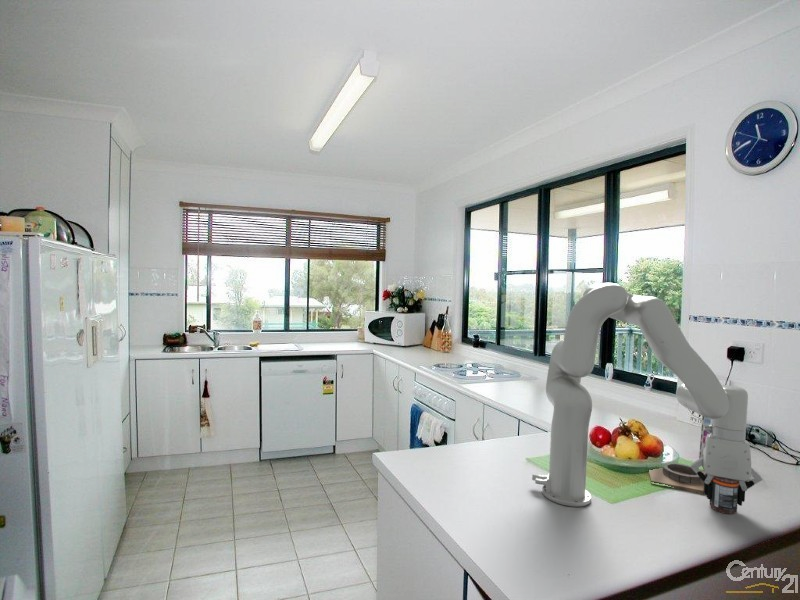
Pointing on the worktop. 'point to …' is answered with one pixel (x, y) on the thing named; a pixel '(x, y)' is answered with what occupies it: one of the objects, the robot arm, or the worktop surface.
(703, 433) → the candy bar box
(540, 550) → the worktop surface
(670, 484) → the collar board
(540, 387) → the worktop surface
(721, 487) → the supplement bottle
